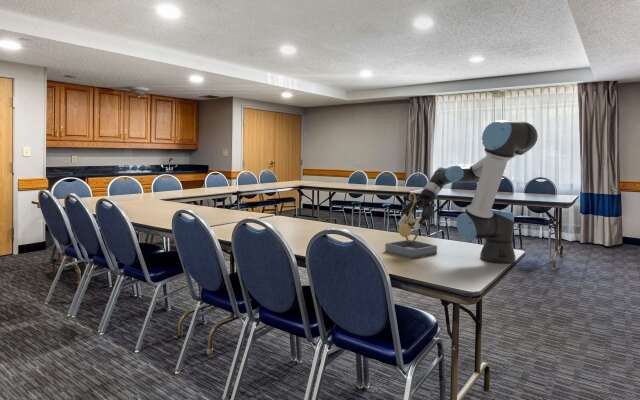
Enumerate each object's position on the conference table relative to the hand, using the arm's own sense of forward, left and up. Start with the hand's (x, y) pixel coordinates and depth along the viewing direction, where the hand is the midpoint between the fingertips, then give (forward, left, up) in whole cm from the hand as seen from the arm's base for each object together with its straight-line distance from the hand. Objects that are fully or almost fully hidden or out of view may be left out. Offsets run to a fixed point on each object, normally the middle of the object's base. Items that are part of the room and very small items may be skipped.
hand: (406, 227), depth 207 cm
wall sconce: (0, -3, -8) cm, 9 cm away
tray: (0, -3, -13) cm, 13 cm away
